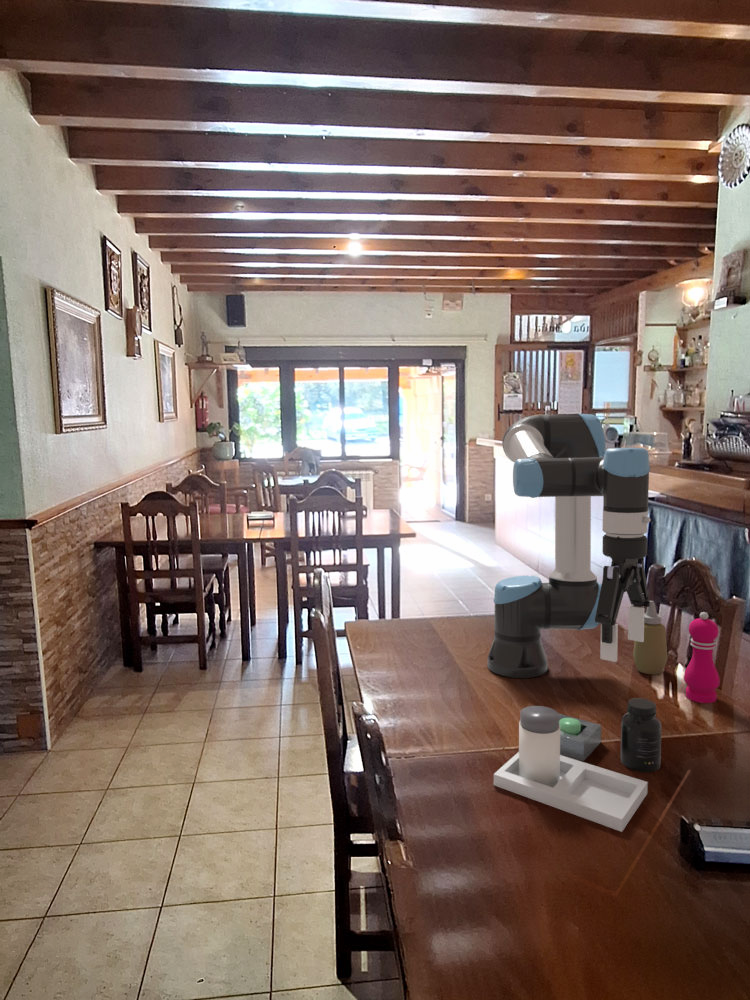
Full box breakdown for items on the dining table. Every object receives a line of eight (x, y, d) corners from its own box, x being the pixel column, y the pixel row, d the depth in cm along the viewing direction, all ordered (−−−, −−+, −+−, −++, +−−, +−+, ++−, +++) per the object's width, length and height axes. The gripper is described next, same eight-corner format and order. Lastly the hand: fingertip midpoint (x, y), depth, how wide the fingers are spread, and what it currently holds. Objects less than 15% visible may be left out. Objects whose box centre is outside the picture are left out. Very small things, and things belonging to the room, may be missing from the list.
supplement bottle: (613, 757, 124) (615, 696, 122) (648, 754, 124) (650, 694, 123) (631, 776, 117) (632, 712, 116) (667, 774, 117) (669, 710, 116)
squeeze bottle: (665, 666, 168) (667, 598, 166) (668, 678, 160) (670, 606, 158) (631, 663, 170) (633, 596, 168) (633, 675, 163) (634, 604, 161)
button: (555, 739, 127) (556, 723, 127) (564, 731, 130) (564, 716, 130) (575, 745, 125) (576, 729, 125) (583, 736, 128) (584, 721, 128)
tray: (493, 787, 114) (493, 774, 114) (526, 757, 124) (526, 744, 124) (621, 834, 101) (622, 819, 100) (647, 796, 111) (647, 782, 110)
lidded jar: (512, 781, 115) (512, 715, 114) (529, 764, 121) (529, 702, 119) (549, 794, 111) (550, 726, 110) (566, 776, 116) (566, 711, 115)
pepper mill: (723, 705, 145) (726, 617, 142) (687, 703, 146) (691, 616, 144) (713, 692, 152) (716, 608, 149) (679, 690, 153) (682, 607, 151)
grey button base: (538, 749, 127) (538, 729, 127) (557, 731, 134) (557, 713, 134) (583, 763, 122) (583, 743, 121) (600, 744, 129) (601, 725, 128)
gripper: (620, 546, 105) (618, 674, 108) (668, 527, 124) (665, 636, 126) (575, 541, 110) (574, 664, 112) (628, 524, 129) (626, 629, 131)
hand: (622, 649), depth 119 cm, fingers open, 13 cm apart
